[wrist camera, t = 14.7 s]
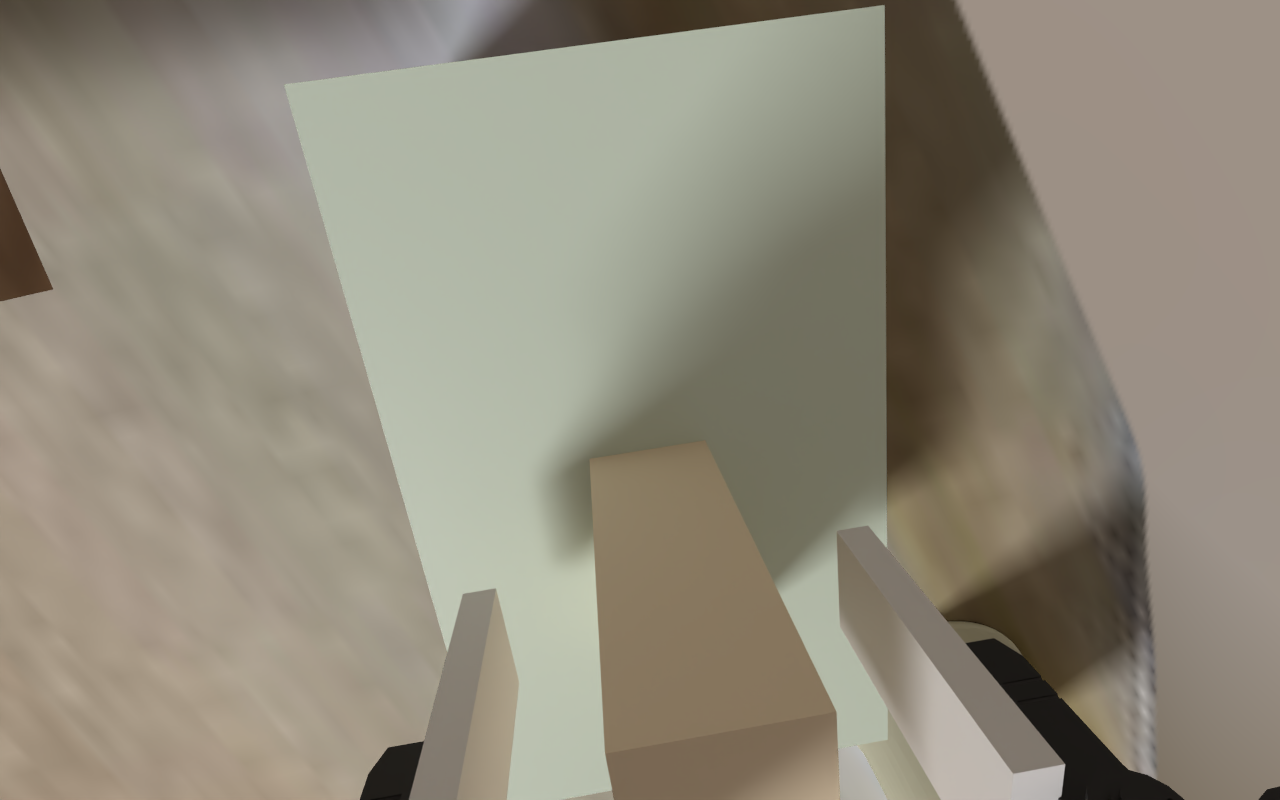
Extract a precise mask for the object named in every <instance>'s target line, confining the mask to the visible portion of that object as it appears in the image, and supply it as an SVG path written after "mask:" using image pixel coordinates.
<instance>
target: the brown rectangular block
mask: <svg viewBox="0 0 1280 800" xmlns="http://www.w3.org/2000/svg"><path fill="white" fill-rule="evenodd" d="M52 289H53V288H52V285H51V283H50V281H49V279H48V276H47V274H46V272H45V270H44V267H43V265H42V263H41V260H40V258H39V256H38V254H37V251H36V249H35V247H34V245H33V242H32V240H31V238H30V235H29V233H28V231H27V229H26V226H25V224H24V222H23V219H22V217H21V215H20V213H19V210H18V208H17V206H16V204H15V201H14V199H13V197H12V194H11V192H10V190H9V188H8V185H7V183H6V181H5V178H4V176H3V174H2V172H1V169H0V301H4V300H8V299H13V298H17V297H21V296H26V295H30V294H34V293H39V292H43V291H48V290H52Z"/></svg>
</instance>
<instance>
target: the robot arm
mask: <svg viewBox="0 0 1280 800" xmlns="http://www.w3.org/2000/svg"><path fill="white" fill-rule="evenodd" d="M836 532H837V560H838V589H839V618H840V627H841V629H842V631H843V633H844V634H845V636H846V638H847V639H848V641H849V643H850V645H851V646H852V648H853V650H854V651H855V653H856V655H857V657H858V658H859V660H860V662H861V663H862V665H863V667H864V669H865V670H866V672H867V674H868V675H869V677H870V679H871V681H872V682H873V684H874V686H875V688H876V689H877V691H878V693H879V694H880V696H881V698H882V700H883V701H884V703H885V705H886V706H887V708H888V710H889V712H890V713H891V715H892V717H893V718H894V720H895V722H896V724H897V725H898V727H899V729H900V730H901V732H902V734H903V736H904V737H905V739H906V741H907V742H908V744H909V746H910V748H911V749H912V751H913V753H914V755H915V756H916V758H917V760H918V761H919V763H920V765H921V767H922V768H923V770H924V772H925V773H926V775H927V777H928V779H929V780H930V782H931V784H932V785H933V787H934V789H935V791H936V792H937V794H938V796H939V797H940V799H941V800H1184V799H1183V798H1182V797H1181V796H1179V795H1178V794H1177V793H1176V792H1175V791H1173V790H1172V789H1171V788H1170V787H1169V786H1167V785H1165V784H1163V783H1161V782H1159V781H1157V780H1155V779H1154V778H1152V777H1150V776H1148V775H1145V774H1141V773H1138V772H1134V771H1130V770H1128V769H1127V768H1126V767H1125V766H1124V765H1123V764H1122V763H1121V762H1120V761H1119V760H1118V759H1117V758H1116V757H1115V756H1114V755H1113V754H1112V753H1111V751H1110V750H1109V749H1108V748H1107V747H1106V746H1105V745H1104V744H1103V743H1102V742H1101V741H1100V740H1099V738H1098V737H1097V736H1096V735H1095V734H1094V733H1093V732H1092V731H1091V730H1090V729H1089V728H1088V727H1087V725H1086V724H1085V723H1084V722H1083V721H1082V720H1081V719H1080V718H1079V717H1078V716H1077V715H1076V714H1075V712H1074V711H1073V710H1072V709H1071V708H1070V707H1069V706H1068V705H1067V704H1066V703H1065V702H1064V700H1063V699H1062V698H1060V699H1059V697H1058V695H1057V693H1056V692H1055V691H1054V690H1053V689H1052V687H1051V686H1050V685H1049V684H1048V683H1047V682H1046V681H1045V680H1044V681H1043V680H1042V678H1041V676H1040V674H1039V673H1038V672H1037V671H1036V670H1035V669H1034V668H1033V667H1032V666H1031V665H1030V664H1029V663H1028V661H1027V660H1026V659H1025V658H1024V657H1023V656H1022V655H1021V654H1019V653H1018V652H1016V651H1014V650H1013V649H1011V648H1009V647H1008V646H1006V645H1005V644H1003V643H1001V642H1000V641H998V640H996V639H995V638H991V639H986V640H980V641H975V642H969V643H965V642H964V641H963V640H962V639H961V637H960V636H959V635H958V634H957V633H956V631H955V630H954V629H953V628H952V627H951V625H950V624H949V623H948V622H947V621H946V619H945V618H944V617H943V616H942V614H941V613H940V612H939V611H938V610H937V608H936V607H935V606H934V605H933V604H932V602H931V601H930V600H929V599H928V598H927V596H926V595H925V594H924V593H923V591H922V590H921V589H920V588H919V587H918V585H917V584H916V583H915V582H914V581H913V579H912V578H911V577H910V576H909V575H908V573H907V572H906V571H905V570H904V568H903V567H902V566H901V565H900V564H899V562H898V561H897V560H896V559H895V558H894V556H893V555H892V554H891V553H890V552H889V550H888V549H887V548H886V547H885V545H884V544H883V543H882V542H881V541H880V539H879V538H878V537H877V536H876V535H875V533H874V532H873V531H872V530H871V529H870V527H869V526H862V527H856V528H850V529H844V530H839V531H836ZM518 689H519V679H518V675H517V671H516V667H515V663H514V659H513V655H512V651H511V647H510V643H509V639H508V635H507V631H506V627H505V623H504V618H503V614H502V610H501V606H500V602H499V598H498V594H497V590H496V588H495V589H489V590H483V591H477V592H471V593H465V594H463V595H462V599H461V603H460V607H459V610H458V614H457V618H456V622H455V626H454V629H453V633H452V637H451V641H450V645H449V648H448V652H447V656H446V660H445V664H444V668H443V671H442V675H441V679H440V683H439V687H438V690H437V694H436V698H435V702H434V706H433V709H432V713H431V717H430V721H429V725H428V728H427V732H426V736H425V740H424V741H423V742H417V743H411V744H406V745H400V746H395V747H389V748H387V750H386V751H385V752H384V754H383V755H382V756H381V758H380V759H379V761H378V762H377V763H376V765H375V766H374V767H373V769H372V770H371V771H370V773H369V774H368V777H367V780H366V783H365V786H364V789H363V792H362V795H361V798H360V800H507V792H508V782H509V773H510V764H511V754H512V745H513V736H514V726H515V717H516V708H517V698H518ZM1259 800H1280V787H1276V788H1271V789H1267V790H1266V791H1265V793H1264V794H1263V795H1262V796H1261V797H1260V799H1259Z"/></svg>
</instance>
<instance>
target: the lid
mask: <svg viewBox="0 0 1280 800" xmlns="http://www.w3.org/2000/svg"><path fill="white" fill-rule="evenodd" d="M284 87H285V90H286V94H287V97H288V101H289V104H290V108H291V111H292V115H293V118H294V122H295V125H296V129H297V132H298V136H299V139H300V142H301V146H302V149H303V153H304V156H305V160H306V163H307V167H308V170H309V174H310V177H311V181H312V184H313V188H314V191H315V195H316V198H317V201H318V205H319V208H320V212H321V215H322V219H323V222H324V226H325V229H326V233H327V236H328V240H329V243H330V247H331V250H332V254H333V257H334V261H335V264H336V267H337V271H338V274H339V278H340V281H341V285H342V288H343V292H344V295H345V299H346V302H347V306H348V309H349V313H350V316H351V320H352V323H353V327H354V330H355V333H356V337H357V340H358V344H359V347H360V351H361V354H362V358H363V361H364V365H365V368H366V372H367V375H368V379H369V382H370V386H371V389H372V392H373V396H374V399H375V403H376V406H377V410H378V413H379V417H380V420H381V424H382V427H383V431H384V434H385V438H386V441H387V445H388V448H389V452H390V455H391V458H392V462H393V465H394V469H395V472H396V476H397V479H398V483H399V486H400V490H401V493H402V497H403V500H404V504H405V507H406V511H407V514H408V517H409V521H410V524H411V528H412V531H413V535H414V538H415V542H416V545H417V549H418V552H419V556H420V559H421V563H422V566H423V570H424V573H425V577H426V580H427V583H428V587H429V590H430V594H431V597H432V601H433V604H434V608H435V611H436V615H437V618H438V622H439V625H440V629H441V632H442V636H443V639H444V643H445V646H446V649H447V652H448V648H449V645H450V641H451V637H452V633H453V629H454V626H455V622H456V618H457V614H458V610H459V607H460V603H461V599H462V595H463V594H465V593H471V592H477V591H483V590H489V589H495V588H496V590H497V594H498V598H499V602H500V606H501V610H502V614H503V618H504V623H505V627H506V631H507V635H508V639H509V643H510V647H511V651H512V655H513V659H514V663H515V667H516V671H517V675H518V679H519V689H518V698H517V708H516V717H515V726H514V736H513V745H512V754H511V764H510V773H509V782H508V792H507V800H562V799H568V798H573V797H579V796H584V795H590V794H595V793H600V792H606V791H611V790H612V792H613V797H614V800H840V787H839V761H838V749H840V748H845V747H851V746H856V745H862V744H867V743H872V742H878V741H883V740H888V708H887V706H886V705H885V703H884V701H883V700H882V698H881V696H880V694H879V693H878V691H877V689H876V688H875V686H874V684H873V682H872V681H871V679H870V677H869V675H868V674H867V672H866V670H865V669H864V667H863V665H862V663H861V662H860V660H859V658H858V657H857V655H856V653H855V651H854V650H853V648H852V646H851V645H850V643H849V641H848V639H847V638H846V636H845V634H844V633H843V631H842V629H841V627H840V618H839V589H838V560H837V532H836V531H839V530H844V529H850V528H856V527H862V526H869V527H870V529H871V530H872V531H873V532H874V533H875V535H876V536H877V537H878V538H879V539H880V541H881V542H882V543H883V544H884V545H885V547H886V548H887V424H886V193H885V5H881V6H873V7H866V8H858V9H851V10H843V11H836V12H828V13H821V14H813V15H806V16H798V17H790V18H783V19H775V20H768V21H760V22H753V23H745V24H738V25H730V26H722V27H715V28H707V29H700V30H692V31H685V32H677V33H670V34H662V35H655V36H647V37H639V38H632V39H624V40H617V41H609V42H602V43H594V44H587V45H579V46H571V47H564V48H556V49H549V50H541V51H534V52H526V53H519V54H511V55H504V56H496V57H488V58H481V59H473V60H466V61H458V62H451V63H443V64H436V65H428V66H420V67H413V68H405V69H398V70H390V71H383V72H375V73H368V74H360V75H353V76H345V77H337V78H330V79H322V80H315V81H307V82H300V83H292V84H285V85H284Z"/></svg>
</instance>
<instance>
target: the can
mask: <svg viewBox="0 0 1280 800" xmlns="http://www.w3.org/2000/svg"><path fill="white" fill-rule="evenodd" d="M948 623H949V624H950V625H951V627H952V628H953V629H954V630H955V631H956V633H957V634H958V635H959V636H960V637H961V639H962V640H963V641H964V642H965V643H969V642H975V641H980V640H986V639H991V638H995V639H996V640H998V641H1000V642H1001V643H1003V644H1005V645H1006V646H1008V647H1009V648H1011V649H1013V650H1014V651H1016V652H1018V653H1019V654H1021V653H1020V651H1019V650H1018V648H1017V647H1016V646H1015V644H1014V643H1013V642H1012V641H1011V640H1009V639H1008V638H1007V637H1006V636H1004V635H1003V634H1002V633H1000V632H998V631H997V630H995V629H993V628H990V627H988V626H985V625H981V624H978V623H972V622H963V621H949V622H948ZM1021 655H1022V654H1021ZM857 746H858V747H859V748H860V750H861V751H862V752H863V753H864V755H865V757H866V759H867V760H868V762H869V764H870V766H871V768H872V770H873V772H874V774H875V776H876V778H877V779H878V781H879V783H880V785H881V787H882V789H883V791H884V793H885V795H886V797H887V799H888V800H941V799H940V797H939V796H938V794H937V792H936V791H935V789H934V787H933V785H932V784H931V782H930V780H929V779H928V777H927V775H926V773H925V772H924V770H923V768H922V767H921V765H920V763H919V761H918V760H917V758H916V756H915V755H914V753H913V751H912V749H911V748H910V746H909V744H908V742H907V741H906V739H905V737H904V736H903V734H902V732H901V730H900V729H899V727H898V725H897V724H896V722H895V720H894V718H893V717H892V715H891V713H890V712H889V710H888V740H883V741H878V742H872V743H867V744H862V745H857Z"/></svg>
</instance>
